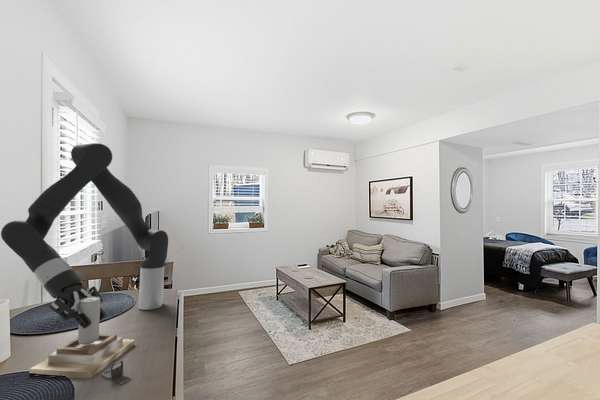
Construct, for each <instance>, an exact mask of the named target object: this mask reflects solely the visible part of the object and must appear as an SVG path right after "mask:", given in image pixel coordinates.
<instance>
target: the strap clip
mask: <svg viewBox="0 0 600 400" xmlns="http://www.w3.org/2000/svg"><path fill="white" fill-rule="evenodd" d="M118 364H120V365H119V366H117V367H115V368H114V366H116V365H118ZM101 377H102V378H104V379H106V380H111V381H112V383H114V384H115V385H117V386H124V385H126V384H127V383H130V382H131V381H132V379H131V378H130V377H129V376H126V375H124V362H123V360H119V361H117V362H114V363H113V364H110V368H109V369H108V370H106V371H104V372H102V373H101Z"/></svg>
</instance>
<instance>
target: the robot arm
mask: <svg viewBox="0 0 600 400" xmlns="http://www.w3.org/2000/svg"><path fill="white" fill-rule="evenodd" d="M70 156H71V160H72V162H73V163H74V165H75V166H74V167H73V169H71V170H70V171H69V172H68V173H67V174H66V175H64V176H63V177H61V178H60V179H59V180H57V181H56V182H54V183H52V184H51V185H50V186H48V187H47V188H46V189H45V190H44V191H43V192H42V193H41V194H40V195H38V197H37V198H36V199H35V200H34V201H33V203H32V204H30V206H29V207H28V208H27V211H28V217H27V219H26V220H13V221H9V222H7V223H6V224H4V226H3V227H2V228H1V232H0V235H1V239H2V240H3V242H4V243H5V244H6V246H8V247H9V248H10V249H11V250H12V251H13V252H14V253H15V254H16V255H17V256H18V257H20V259H22V261H23V262H24V263H25V265H26V266H27V267H28V268H29V270H30V271H31V272H32V273H33V274H34V276H35V278H36V280H37V281H38V282H39V283H40V285H41V286H42V287H43V288H44V289H45V291H46V292H47V293H48V294H49V295H50V297H51V298H52V299H54V301H53V302H52V303H51V304H50V305H49V306H48V307H49V309H51V310H52V311H54V312H55V313H56V314H57V315H59V316H60V318H62V319H64V320H65V321H69V320H71V319H72V320H75V321H76V322H77V324H78V326H79V325H80V326H81V327H83V328H84V329H85V328H87V327H88V326H89V325H91V323H92V322H91V321H90V320H89V318H88V317H87V316H86V315H85V314H84V313H82V310H81V308H80V303H81V302H80V300H81V299H84V298H87V297H100V305H101V304H102V303H103V302H104V300H103V297H101V295H100V292H99V291H98V289H97V288H96V287H95V286H91V287H90V288H86V287H85V286H84V285H83V284H82V282H83V280H82V278H81V277H80V276H79V275H78V273H77V272H76V271H75V270H74V269H73V268H72V266H71V265H70V264H69V263H68V262H67V261H66V260H64V258H63V257H61V256H60V254H59V253H58V251H56V250H55V249H54V247H52V246H51V245H50V244H49V243H47V242H46V241H45V238H46V236H47V235H48V233H49V231H50V230H51V227H52V225H53V223H54V221H55V219H56V218H58V216H59V215H60V214H61V213H62V212H63V211H64V209H66V207H67V206H68V204H69V203H70V202H72V200H73V199H74V198H75V196H77V195H78V194H79V193H80V192H81V190H83V188H85V187H86V186H87V185H88V184H89V183H90V182H92V184H93V185H94V186H95V187H96V189H97V190H98V192H100V194H101V195H102V196H103V198H104V199H105V201H106V202H107V203H108V205H109V206H110V207H111V209H112V210H113V212H114V213H115V214H116V215H117V216H118V217H119V218H120V221H122V223H123V224H124V225H125V227H127V229H128V230H129V232H130V233H131V235H132V237H133V239H134V240H135V242H136V244H137V245H138V246H139V248H141V249H142V250H144V251H148V252H149V253H148V257H146V258H144V259H142V260H141V261H140V268H139V269H140V274H139V288H138V290H139V291H138V305H137V306H138V307H137V309H138V310H142V311H150V310H155V309H156V310H157V309H159V308H161V307H162V306H163V303H164V301H163V300H164V289H165V288H164V286H165V282H164V280H165V279H164V277H165V263H166V260H167V257H168V249H169V248H168V247H169V235H168V234H167V232H166V231H164V230H161V229H152V228H151V227H150V226H148V224H147V223H146V222H145V220H144V218H143V208H142V204H141V201H140V200H139V199H138V197H137V196H136V194H135V193H134V191H133V190H132V189H131V188H130V187H129V186H128V185H126V184H125V183H123V182H122V181H121V180H120V179H118V178H117V177H116V176H115V175H113V173H111V171H110V170H109V168H108V167H109V166H110V164H111V163H112V161H113V153H112V151H111V149H110V147H108V146H107V145H105V144H103V143H98V142H97V143H96V142H84V143H78V144H76V145H74V146H73V147H72V149H71V152H70ZM106 316H107V314H106V312H105V311H104V310H103V308H102V307H101V306H100V321H102V320H104V319H105V318H106Z"/></svg>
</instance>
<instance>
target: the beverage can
mask: <svg viewBox="0 0 600 400" xmlns="http://www.w3.org/2000/svg"><path fill="white" fill-rule="evenodd" d="M80 302H81V303H80V308H81V310H82V313H84V314H85V315H86V316H87V317H88V318H89V320H90V321H91V322H92V323H91V325H89V326H88V327H87V328H85V329H84V328H83V327H81V326H80V325H79V324H78V332H77V333H78V335H77V336H78V342H79V343H80V344H82V345H86V344H91V343H93V342H95V341H96V340H97V339H98V338H99V334H100V321H101V320H100V307H101V304H100V297H87V298H84V299H81V300H80Z"/></svg>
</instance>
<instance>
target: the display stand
mask: <svg viewBox="0 0 600 400" xmlns="http://www.w3.org/2000/svg"><path fill="white" fill-rule="evenodd" d="M135 343H136V339H128V338H126V339H125V338H124V337H121V336H118V334H111V333H99V338H98V339H97V340H96V341H95V342H93V343H91V344H86V345H82V344H80V343H79V342H78V337H76V338H74V339H72V340H70V341H69V342H66V343H65V344H63V345H60V346H59V347H58V348H56V350H55V351H53V352H52V353H50V354H48V357H47V358H46V359H45V360H42V361H41V362H39V363H38V364H35V365H34V366H32V367H30V368H29V373H36V374H47V375H62V376H66V377H65V378H72V379H73V378H74V379H75V378H76V379H92V378H93V377H94V376H96V375H97V374H98V373H100V372H101V371H102V370H104V369H105V368H106V367H108V366H109V365H111V363H113V362H114V361H116V360H117V359H118V358H119V357H121V356H122V355H123V354H125V353H126V352H127V351H129V350H130V349H131V348H133V347H134V346H135ZM29 373H28V374H29Z"/></svg>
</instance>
